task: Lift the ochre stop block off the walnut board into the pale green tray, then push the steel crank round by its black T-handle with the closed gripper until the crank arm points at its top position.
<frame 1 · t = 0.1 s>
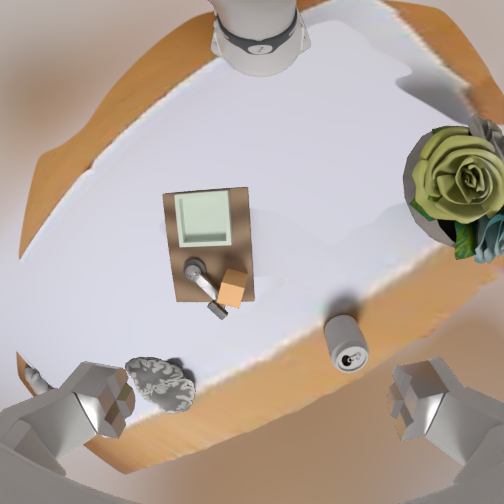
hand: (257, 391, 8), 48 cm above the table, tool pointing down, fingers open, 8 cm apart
bunny figurine: (43, 381, 75), on the table
can: (340, 327, 60), on the table
crank: (205, 291, 54), point 5 cm above the table, hinge at 41.0°
stop block: (235, 280, 57), point 1 cm above the table, touching mechanism board
brain slice: (165, 377, 68), on the table
tray: (205, 217, 54), resting on mechanism board
mechanism board: (210, 246, 57), on the table
flower arrangement: (431, 181, 50), on the table
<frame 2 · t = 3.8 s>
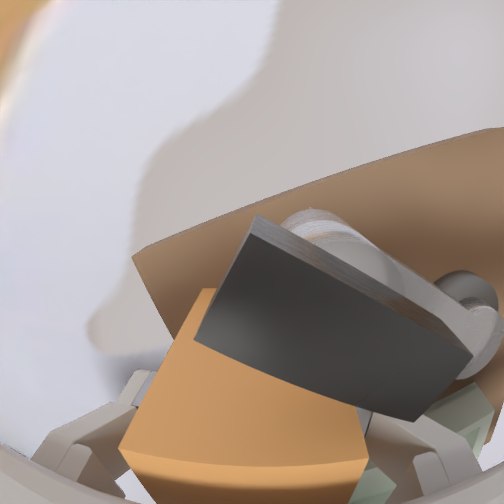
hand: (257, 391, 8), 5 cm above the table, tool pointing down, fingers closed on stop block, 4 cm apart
crank: (436, 336, 6), point 5 cm above the table, hinge at 41.0°
stop block: (261, 336, 11), point 1 cm above the table, touching gripper, mechanism board
tray: (400, 459, 13), resting on mechanism board
mechanism board: (388, 386, 13), on the table
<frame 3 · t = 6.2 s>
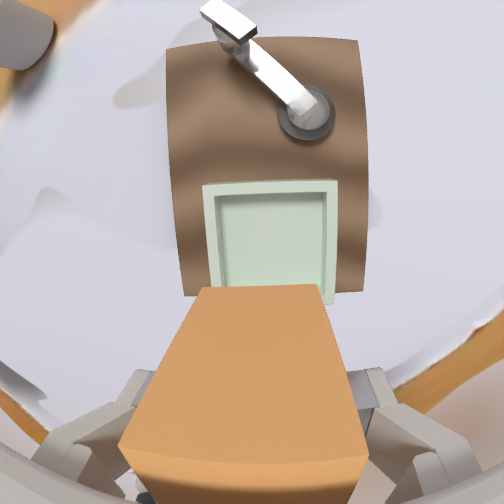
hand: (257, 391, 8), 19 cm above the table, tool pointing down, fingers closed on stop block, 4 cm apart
can: (36, 44, 20), on the table
crank: (269, 64, 16), point 5 cm above the table, hinge at 41.0°
stop block: (261, 334, 11), point 15 cm above the table, touching gripper
tray: (272, 239, 24), resting on mechanism board
mechanism board: (269, 164, 24), on the table
when the fingers open (8 cm above the table, at t = 8.8 s): stop block drops 2 cm, resting on tray.
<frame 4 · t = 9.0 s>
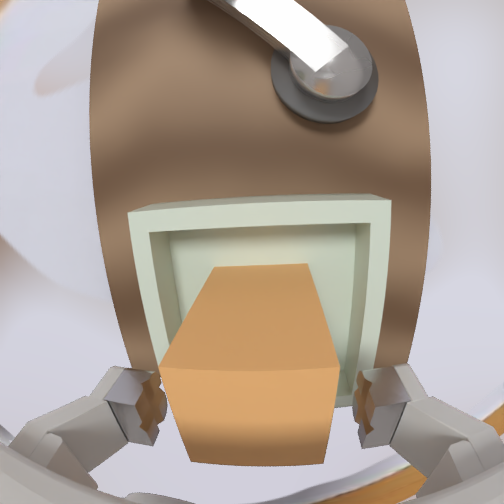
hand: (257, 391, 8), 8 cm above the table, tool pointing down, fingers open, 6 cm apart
stop block: (262, 307, 13), point 2 cm above the table, touching tray
tray: (264, 300, 14), resting on mechanism board
mechanism board: (259, 167, 13), on the table
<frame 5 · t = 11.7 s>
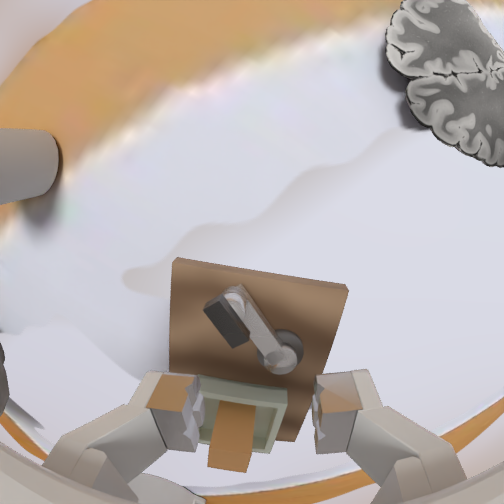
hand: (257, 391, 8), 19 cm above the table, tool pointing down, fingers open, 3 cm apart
can: (42, 162, 26), on the table
crank: (256, 341, 23), point 5 cm above the table, hinge at 41.0°
stop block: (235, 414, 30), point 2 cm above the table, touching tray
brain slice: (449, 79, 21), on the table
tray: (237, 410, 30), resting on mechanism board
mechanism board: (245, 365, 30), on the table
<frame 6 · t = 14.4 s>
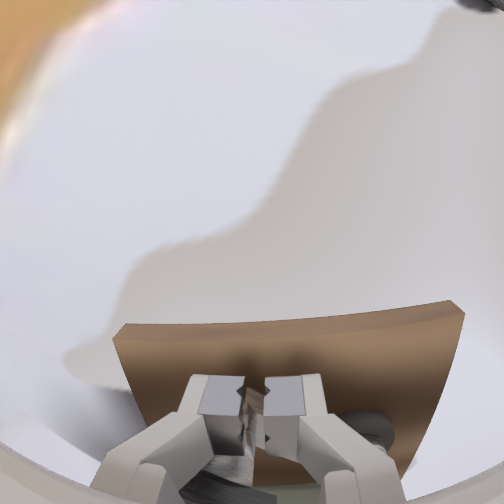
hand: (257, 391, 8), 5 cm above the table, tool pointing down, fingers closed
crank: (302, 478, 9), point 5 cm above the table, hinge at 48.8°, touching gripper
mechanism board: (294, 459, 15), on the table
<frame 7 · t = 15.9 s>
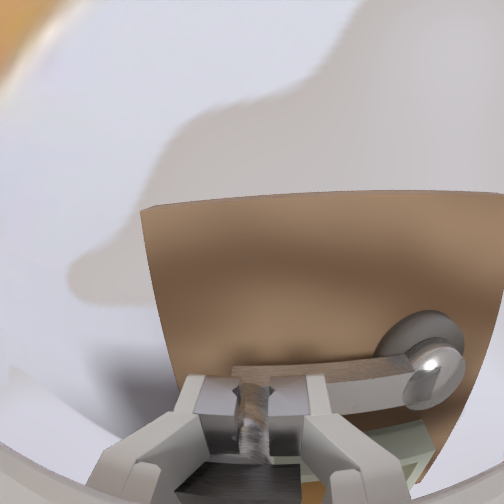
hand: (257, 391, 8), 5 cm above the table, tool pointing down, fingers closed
crank: (351, 431, 8), point 5 cm above the table, hinge at 88.7°, touching gripper
stop block: (332, 481, 14), point 2 cm above the table, touching tray
tray: (333, 475, 14), resting on mechanism board
mechanism board: (340, 402, 14), on the table
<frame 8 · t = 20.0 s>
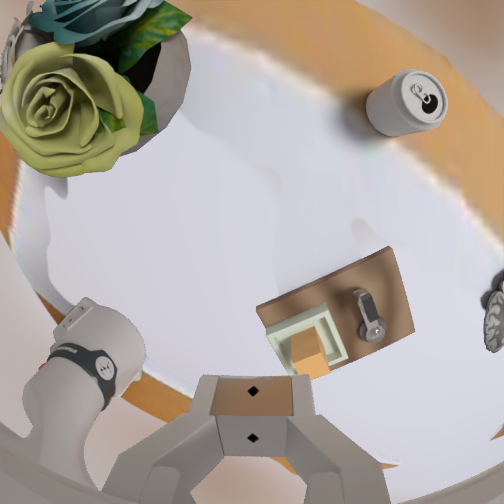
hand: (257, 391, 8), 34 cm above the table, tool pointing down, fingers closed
can: (387, 112, 35), on the table
crank: (372, 320, 38), point 5 cm above the table, hinge at 90.1°
stop block: (307, 340, 43), point 2 cm above the table, touching tray
tray: (307, 339, 44), resting on mechanism board
mechanism board: (341, 319, 44), on the table
flower arrangement: (138, 94, 37), on the table
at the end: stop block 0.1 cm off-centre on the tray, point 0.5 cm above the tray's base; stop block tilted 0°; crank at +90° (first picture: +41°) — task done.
